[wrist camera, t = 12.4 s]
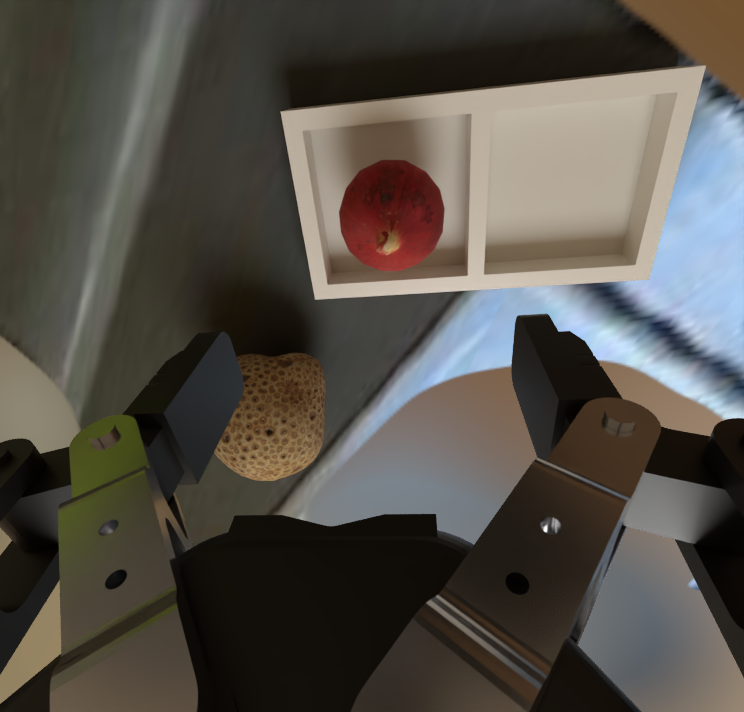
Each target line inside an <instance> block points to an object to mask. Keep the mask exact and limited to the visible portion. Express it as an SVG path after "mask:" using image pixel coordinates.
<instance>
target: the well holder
mask: <svg viewBox="0 0 744 712" xmlns="http://www.w3.org/2000/svg"><path fill="white" fill-rule="evenodd" d="M705 68H706V65H705V66H675V67H666V68H657V69H648V70H638V71H629V72H620V73H611V74H602V75H593V76H584V77H574V78H565V79H556V80H547V81H538V82H529V83H519V84H510V85H501V86H492V87H483V88H474V89H465V90H455V91H446V92H437V93H428V94H419V95H410V96H401V97H391V98H382V99H373V100H364V101H355V102H346V103H336V104H327V105H318V106H309V107H300V108H291V109H288V110H285V111H281V117H282V122H283V128H284V133H285V139H286V144H287V149H288V155H289V160H290V166H291V171H292V177H293V182H294V187H295V193H296V198H297V204H298V209H299V215H300V220H301V226H302V231H303V236H304V242H305V247H306V253H307V258H308V264H309V269H310V274H311V280H312V285H313V291H314V296H315V300H317V299H333V298H350V297H367V296H383V295H400V294H417V293H433V292H450V291H466V290H483V289H500V288H516V287H533V286H549V285H566V284H583V283H599V282H616V281H633V280H649V277H650V273H651V270H652V266H653V262H654V258H655V255H656V251H657V247H658V243H659V240H660V236H661V232H662V228H663V225H664V221H665V217H666V213H667V210H668V206H669V202H670V199H671V195H672V191H673V187H674V184H675V180H676V176H677V172H678V169H679V165H680V161H681V157H682V154H683V150H684V146H685V142H686V139H687V135H688V131H689V127H690V124H691V120H692V116H693V112H694V109H695V105H696V101H697V97H698V94H699V90H700V86H701V83H702V79H703V75H704V71H705ZM380 160H406V161H408V162H409V163H411V164H413V165H415V166H417V167H418V168H420V169H422V170H424V171H426V172H427V173H428V175H429V176H430V177H431V179H432V180H433V181H434V182H435V184H436V185H437V186H438V188H439V189H440V192H441V196H442V200H443V204H444V208H445V211H444V223H443V233H442V235H441V237H440V239H439V241H438V243H437V245H436V247H435V249H434V251H432V252H431V253H430V254H429V255H428V256H427V257H426V258H424V259H423V260H422V261H421V262H420V263H419V264H417V265H415V266H412V267H409V268H407V269H404V270H401V271H381V270H378V269H375V268H373V267H370V266H367V265H364V264H363V263H362V262H361V261H360V260H358V259H357V258H356V257H355V256H354V255H353V254H352V253H350V252H349V250H348V248H347V245H346V243H345V241H344V238H343V236H342V234H341V227H340V218H339V210H340V207H341V203H342V200H343V196H344V193H345V190H346V188H347V186H348V185H349V184H350V182H351V181H352V180H353V179H354V177H355V176H356V175H357V173H358V172H359V171H360V170H362V169H364V168H366V167H368V166H370V165H372V164H374V163H376V162H378V161H380Z"/></svg>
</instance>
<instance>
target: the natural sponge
mask: <svg viewBox="0 0 744 712" xmlns="http://www.w3.org/2000/svg"><path fill="white" fill-rule="evenodd" d="M236 358H237V361H238V364H239V367H240V370H241V373H242V376H243V382H244V389H243V395H242V397H241V400H240V402H239V404H238V406H237V407H236V409H235V411H234V413H233V415H232V417H231V419H230V421H229V423H228V425H227V427H226V429H225V431H224V433H223V435H222V437H221V439H220V441H219V443H218V445H217V447H216V449H215V451H214V453H215V454H216V456H217V457H218V458H219V459H220V460H221V461H222V462H223V463H224V464H226V465H227V466H228V467H229V468H231V469H232V470H233V471H235V472H237V473H238V474H240V475H241V476H244V477H247V478H250V479H253V480H261V481H274V480H277V479H280V478H285V477H287V476H289V475H292V474H295V473H297V472H299V471H301V470H302V469H304V468H305V467H307V466H308V465H309V464H310V463H311V462H312V461H313V460H314V459H315V458H316V456H317V455H318V453H319V451H320V449H321V446H322V443H323V438H324V420H325V377H324V372H323V368H322V366H321V364H320V362H319V361H318V360H317V359H316V358H314V357H312V356H310V355H307V354H304V353H288V354H283V355H280V356H274V357H271V356H265V355H259V354H246V355H240V356H238V357H236Z"/></svg>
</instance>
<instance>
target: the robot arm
mask: <svg viewBox="0 0 744 712" xmlns="http://www.w3.org/2000/svg"><path fill="white" fill-rule="evenodd" d="M599 364H600V363H599V362H598V360H597V359H596V357H595V356H593V353H592V351H591V350H590V348H589V347H588V345H587V344H586V342H585V341H584V340H582V339H581V338H579V337H578V336H576V335H575V334H573V333H571V332H570V331H565V332H558V330H557V328H556V327H555V325H554V323H553V322H552V320H551V318H550V316H549V315H548V314H536V315H519V316H517V318H516V323H515V333H514V344H513V355H512V381H513V386H514V389H515V392H516V395H517V398H518V401H519V404H520V407H521V410H522V413H523V416H524V419H525V422H526V425H527V428H528V431H529V434H530V437H531V440H532V443H533V445H534V449H535V452H536V455H537V458H536V459H535V460H534V461H533V463H532V464H531V465H530V467H529V468H528V469H527V471H526V472H525V474H524V475H523V476H522V478H521V479H520V481H519V482H518V484H517V485H516V486H515V488H514V489H513V491H512V492H511V494H510V495H509V496H508V498H507V499H506V501H505V502H504V504H503V505H502V506H501V508H500V509H499V511H498V512H497V513H496V515H495V516H494V518H493V519H492V520H491V522H490V523H489V525H488V526H487V528H486V529H485V530H484V532H483V533H482V535H481V536H480V537H479V539H478V540H477V542H476V543H475V544H474V545H473V544H472V543H470V542H468V541H466V540H464V539H462V538H460V537H457V536H454V535H451V534H449V533H446V532H442V531H438V530H437V523H436V514H398V515H397V514H393V515H391V514H387V515H386V514H385V515H380V516H376V517H372V518H367V519H363V520H359V521H355V522H350V523H346V524H342V525H338V526H331V527H330V526H324V525H320V524H316V523H312V522H308V521H304V520H300V519H296V518H291V517H287V516H283V515H248V516H234V519H233V522H232V524H231V527H230V529H229V532H228V533H224V534H221V535H219V536H216V537H213V538H210V539H208V540H206V541H204V542H202V543H199V544H198V545H196V546H193V543H192V540H191V537H190V534H189V531H188V528H187V525H186V522H185V519H184V516H183V513H182V510H181V507H180V505H179V502H178V499H177V497H176V495H175V493H174V491H175V489H176V488H177V486H178V485H186V484H198V483H199V481H200V479H201V477H202V475H203V473H204V471H205V469H206V467H207V465H208V463H209V461H210V459H211V457H212V455H213V453H214V451H215V449H216V447H217V445H218V443H219V441H220V439H221V437H222V435H223V433H224V431H225V429H226V427H227V425H228V423H229V421H230V419H231V417H232V415H233V413H234V411H235V409H236V407H237V406H238V404H239V402H240V400H241V397H242V395H243V389H244V382H243V376H242V373H241V370H240V367H239V364H238V361H237V358H236V355H235V352H234V348H233V345H232V342H231V339H230V337H229V335H228V334H227V333H226V332H210V333H198V334H197V335H196V336H195V337H194V338H193V339H192V341H191V342H190V343H189V344H188V346H187V347H186V348H185V349H184V351H181V352H179V353H178V354H176V355H175V356H173V357H172V358H171V359H169V360H168V361H166V362H165V364H164V365H163V366H162V367H161V368H160V370H159V371H158V372H157V375H155V376H154V377H153V378H152V379H151V380H150V382H149V385H146V387H145V388H144V389H143V390H142V391H141V393H140V394H139V395H138V396H137V397H136V399H135V400H134V401H133V402H132V403H131V405H130V406H129V407H128V408H127V410H126V411H125V412H124V413H123V414H122V415H115V416H110V417H107V418H104V419H101V420H99V421H96V422H94V423H92V424H91V425H89V426H87V427H86V428H84V429H83V430H82V431H80V432H79V433H78V434H77V435H76V437H75V438H74V439H73V440H72V442H71V444H70V446H69V447H66V448H63V449H58V450H54V451H50V452H46V453H42V454H40V453H39V452H38V450H37V449H36V447H35V446H34V445H33V443H32V442H31V441H30V440H27V439H12V440H8V441H4V442H2V443H0V528H1V529H2V530H3V531H4V532H5V533H6V534H7V535H8V536H9V537H10V538H11V540H12V541H11V543H10V544H9V545H8V547H7V548H6V549H5V550H4V552H3V553H2V554H1V555H0V674H1V673H2V671H3V669H4V668H5V666H6V665H7V663H8V661H9V660H10V658H11V657H12V655H13V653H14V652H15V650H16V648H17V647H18V645H19V644H20V642H21V641H22V639H23V637H24V636H25V634H26V633H27V631H28V629H29V628H30V626H31V624H32V623H33V621H34V620H35V618H36V617H37V615H38V613H39V612H40V610H41V608H42V607H43V605H44V604H45V602H46V601H47V599H48V597H49V596H50V594H51V592H52V591H53V589H54V588H55V586H56V584H57V583H58V581H59V580H60V614H61V648H62V649H61V654H60V655H59V656H58V657H56V658H55V659H54V660H53V661H52V662H50V663H49V664H48V665H47V666H46V667H44V668H43V669H42V670H41V671H40V672H38V673H37V674H36V675H35V676H34V677H32V678H31V679H30V680H29V681H28V682H26V683H25V684H24V685H23V686H22V687H20V688H19V689H18V690H17V691H16V692H14V693H13V694H12V695H11V696H9V697H8V698H7V699H6V700H5V701H3V702H2V703H1V704H0V712H641V711H640V710H639V709H638V708H637V707H636V706H635V705H634V703H633V702H632V701H631V700H630V699H629V698H628V697H627V696H626V695H625V694H624V693H623V692H622V691H621V690H620V689H619V688H618V687H617V686H616V685H615V684H614V683H613V682H612V681H611V680H610V679H609V677H608V676H607V675H606V674H605V673H604V672H603V671H602V670H601V669H600V668H599V667H598V666H597V665H596V664H595V663H594V662H593V661H592V660H591V659H590V658H589V657H588V656H587V655H586V654H585V653H584V652H583V650H582V649H581V648H580V647H579V646H578V643H579V641H580V639H581V637H582V634H583V632H584V629H585V627H586V624H587V622H588V619H589V617H590V614H591V612H592V609H593V607H594V604H595V601H596V599H597V596H598V594H599V591H600V589H601V587H602V584H603V582H604V580H605V577H606V575H607V573H608V571H609V568H610V566H611V564H612V561H613V559H614V557H615V554H616V552H617V550H618V547H619V545H620V543H621V540H622V538H623V536H624V533H625V531H626V529H627V527H631V528H634V529H638V530H642V531H646V532H650V533H654V534H658V535H661V536H665V537H670V538H673V539H675V541H676V542H677V545H678V546H679V548H680V551H681V553H682V555H683V557H684V559H685V560H686V563H687V564H688V567H689V569H690V571H691V572H692V574H693V577H694V579H695V581H696V583H697V585H698V587H699V589H700V591H701V593H702V594H703V597H704V599H705V601H706V603H707V605H708V607H709V609H710V611H711V613H712V614H713V617H714V618H715V621H716V623H717V624H718V627H719V628H720V631H721V633H722V635H723V637H724V639H725V641H726V642H727V645H728V647H729V649H730V651H731V653H732V655H733V657H734V659H735V661H736V663H737V665H738V667H739V668H740V671H741V673H742V675H743V677H744V419H741V418H736V419H727V420H724V421H721V422H719V423H718V424H717V425H716V426H715V427H714V429H713V431H712V434H711V436H704V435H699V434H694V433H688V432H682V431H676V430H671V429H667V428H664V427H661V425H660V422H659V421H658V419H657V417H656V416H655V415H654V414H653V413H652V412H650V411H649V410H648V409H646V408H644V407H643V406H641V405H639V404H637V403H634V402H631V401H628V400H624V399H623V398H622V397H621V395H620V394H619V392H618V391H617V389H616V388H615V386H614V385H613V383H612V382H611V380H610V379H609V377H608V376H607V374H606V373H605V371H604V370H603V368H602V367H601V366H600V365H599Z"/></svg>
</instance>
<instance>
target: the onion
mask: <svg viewBox="0 0 744 712" xmlns="http://www.w3.org/2000/svg"><path fill="white" fill-rule="evenodd" d="M444 211H445V208H444V204H443V200H442V196H441V192H440V189H439V188H438V186H437V185H436V184H435V182H434V181H433V180H432V179H431V177H430V176H429V175H428V173H427V172H426V171H424V170H422V169H420V168H418V167H417V166H415V165H413V164H411V163H409V162H408V161H406V160H380V161H378V162H376V163H374V164H372V165H370V166H368V167H366V168H364V169H362V170H360V171H359V172H358V173H357V175H356V176H355V177H354V179H353V180H352V181H351V182H350V184H349V185H348V186H347V188H346V190H345V193H344V196H343V200H342V203H341V207H340V210H339V218H340V227H341V234H342V236H343V238H344V241H345V243H346V245H347V248H348V250H349V252H350V253H352V254H353V255H354V256H355V257H356V258H357V259H358V260H360V261H361V262H362V263H363V264H364V265H367V266H370V267H373V268H375V269H378V270H381V271H401V270H404V269H407V268H409V267H412V266H415V265H417V264H419V263H420V262H421V261H422V260H423V259H424V258H426V257H427V256H428V255H429V254H430V253H431V252H432V251H434V249H435V247H436V245H437V243H438V241H439V239H440V237H441V235H442V233H443V223H444Z"/></svg>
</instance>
